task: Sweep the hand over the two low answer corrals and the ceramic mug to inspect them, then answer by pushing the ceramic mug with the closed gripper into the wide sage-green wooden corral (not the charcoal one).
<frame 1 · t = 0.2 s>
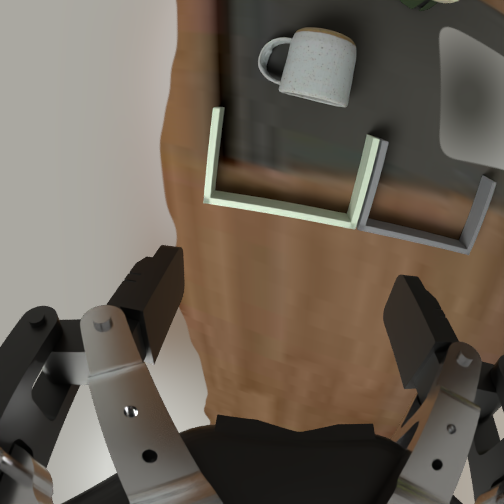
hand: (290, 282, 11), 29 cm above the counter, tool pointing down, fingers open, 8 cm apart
corral green: (289, 160, 37), on the counter
corral charcoal: (426, 193, 37), on the counter
ceramic mug: (304, 69, 31), on the counter
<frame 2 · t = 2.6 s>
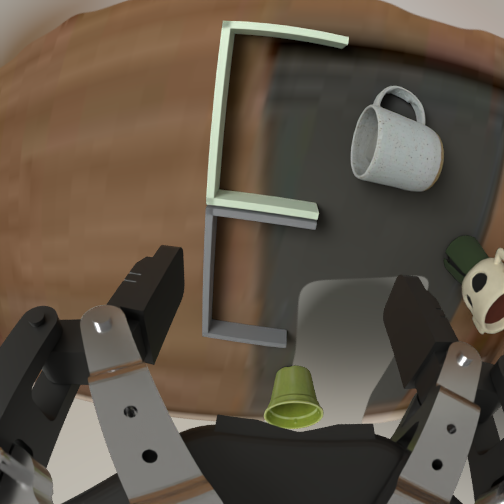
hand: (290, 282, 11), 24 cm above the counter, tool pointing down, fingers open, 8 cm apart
corral green: (278, 117, 30), on the counter
character mug: (459, 251, 35), on the counter
corral charcoal: (256, 275, 40), on the counter
plant pot: (293, 374, 50), on the counter
ceramic mug: (385, 132, 29), on the counter
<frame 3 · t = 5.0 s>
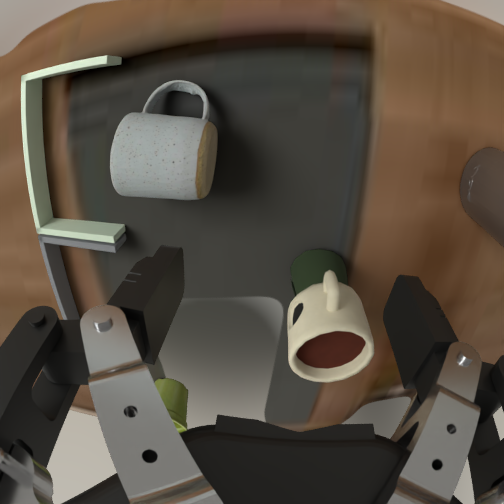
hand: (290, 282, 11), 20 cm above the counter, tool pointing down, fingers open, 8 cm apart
corral green: (78, 148, 28), on the counter
character mug: (317, 268, 34), on the counter
corral charcoal: (100, 292, 38), on the counter
plant pot: (172, 386, 49), on the counter
ceramic mug: (178, 134, 28), on the counter
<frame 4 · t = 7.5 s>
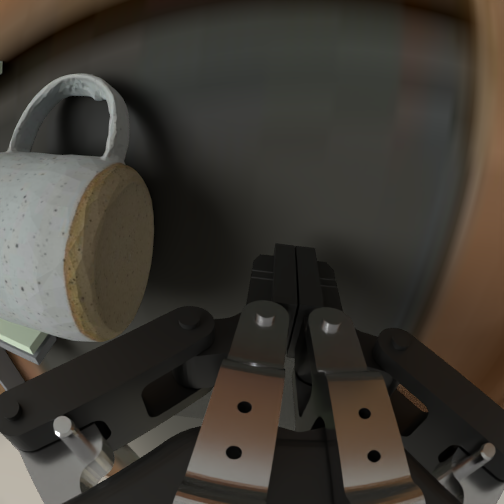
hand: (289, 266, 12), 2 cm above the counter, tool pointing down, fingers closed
corral charcoal: (47, 382, 25), on the counter
ceramic mug: (87, 181, 13), on the counter
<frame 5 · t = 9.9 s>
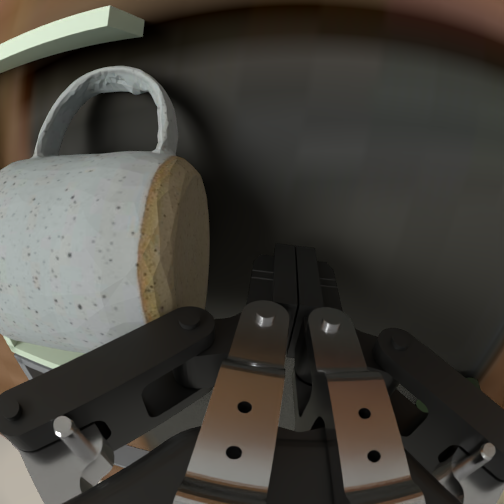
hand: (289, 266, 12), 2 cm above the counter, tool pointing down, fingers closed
corral green: (55, 221, 14), on the counter
corral charcoal: (121, 414, 24), on the counter
ceramic mug: (125, 186, 13), on the counter, touching hand
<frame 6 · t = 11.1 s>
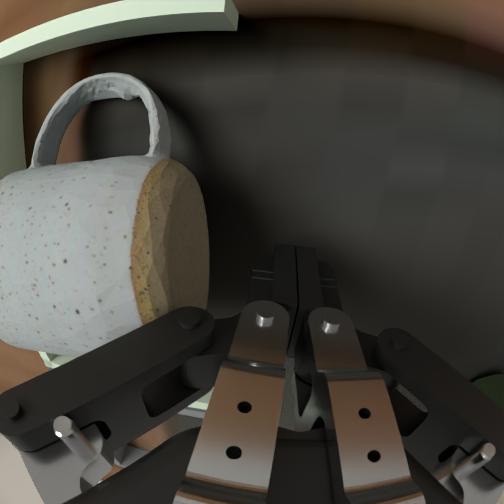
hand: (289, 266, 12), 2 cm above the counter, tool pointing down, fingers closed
corral green: (111, 226, 14), on the counter
character mug: (474, 388, 19), on the counter
corral charcoal: (158, 424, 24), on the counter
ceramic mug: (123, 191, 13), on the counter, touching hand
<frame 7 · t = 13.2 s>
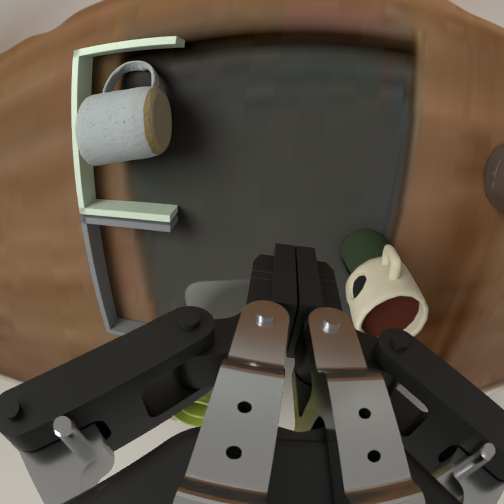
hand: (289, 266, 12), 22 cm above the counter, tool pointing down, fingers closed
corral green: (132, 127, 30), on the counter
character mug: (362, 249, 35), on the counter
corral charcoal: (141, 276, 40), on the counter
plant pot: (206, 374, 50), on the counter
ceramic mug: (138, 108, 29), on the counter
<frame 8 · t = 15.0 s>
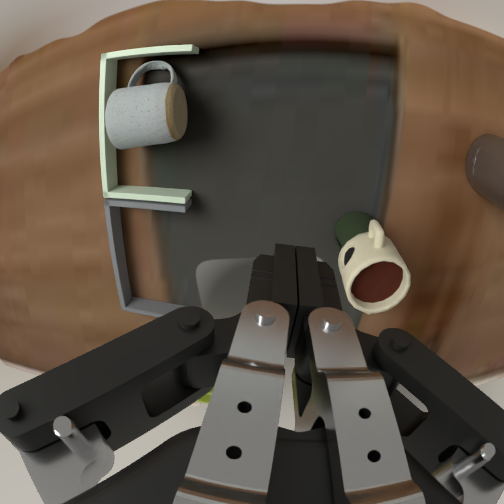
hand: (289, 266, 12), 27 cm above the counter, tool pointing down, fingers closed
corral green: (152, 122, 35), on the counter
character mug: (354, 230, 40), on the counter
corral charcoal: (156, 256, 45), on the counter
ceramic mug: (157, 102, 34), on the counter
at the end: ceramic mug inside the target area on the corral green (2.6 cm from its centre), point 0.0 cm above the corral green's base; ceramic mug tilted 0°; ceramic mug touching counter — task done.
